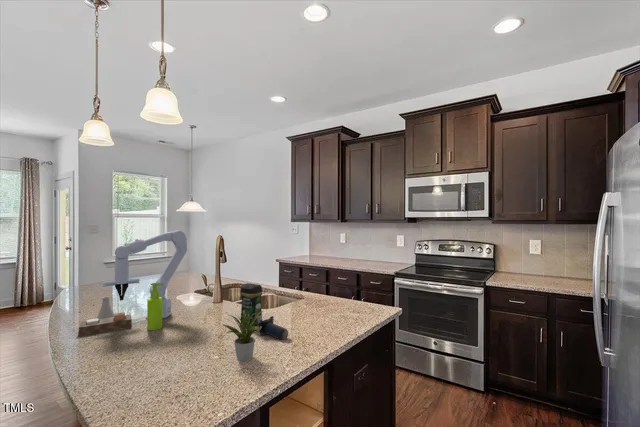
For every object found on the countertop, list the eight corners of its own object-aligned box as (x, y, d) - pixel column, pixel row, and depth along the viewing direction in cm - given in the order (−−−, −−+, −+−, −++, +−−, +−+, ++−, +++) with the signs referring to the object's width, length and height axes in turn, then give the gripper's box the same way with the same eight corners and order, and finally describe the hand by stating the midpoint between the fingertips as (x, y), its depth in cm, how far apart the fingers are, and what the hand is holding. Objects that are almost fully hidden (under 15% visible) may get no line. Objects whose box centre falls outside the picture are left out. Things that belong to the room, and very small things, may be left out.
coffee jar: (237, 325, 145) (237, 284, 145) (249, 320, 152) (249, 281, 152) (253, 328, 140) (253, 286, 140) (265, 323, 147) (265, 283, 147)
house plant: (250, 345, 122) (250, 302, 122) (275, 354, 113) (274, 308, 113) (217, 358, 111) (217, 311, 111) (242, 369, 102) (241, 318, 102)
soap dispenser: (158, 330, 138) (157, 284, 138) (144, 329, 140) (144, 284, 140) (167, 326, 144) (167, 282, 144) (153, 325, 145) (153, 281, 146)
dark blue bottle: (258, 339, 132) (280, 347, 125) (256, 321, 130) (278, 329, 124) (273, 328, 139) (294, 335, 132) (272, 312, 138) (293, 318, 131)
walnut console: (130, 321, 151) (130, 314, 151) (131, 327, 143) (131, 319, 143) (80, 329, 140) (80, 321, 140) (78, 335, 133) (78, 327, 133)
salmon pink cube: (124, 321, 147) (124, 312, 147) (124, 324, 144) (124, 314, 144) (114, 323, 145) (114, 313, 145) (114, 325, 142) (114, 315, 142)
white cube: (98, 328, 142) (98, 318, 142) (98, 330, 138) (98, 320, 138) (87, 330, 140) (87, 319, 140) (86, 332, 136) (86, 322, 136)
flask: (118, 315, 160) (118, 295, 160) (107, 320, 153) (107, 299, 153) (104, 315, 161) (104, 295, 161) (93, 319, 154) (93, 299, 154)
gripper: (103, 274, 143) (102, 304, 143) (140, 271, 151) (139, 299, 151) (103, 271, 149) (103, 300, 149) (138, 269, 157) (138, 296, 157)
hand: (121, 300), depth 150 cm, fingers closed
